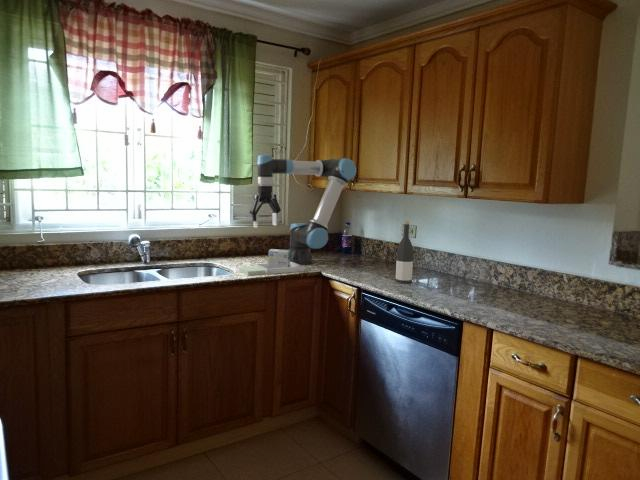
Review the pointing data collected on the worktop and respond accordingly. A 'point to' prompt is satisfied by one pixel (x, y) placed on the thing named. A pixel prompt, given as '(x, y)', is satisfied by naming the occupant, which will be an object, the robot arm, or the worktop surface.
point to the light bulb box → (279, 258)
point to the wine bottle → (404, 258)
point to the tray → (292, 268)
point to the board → (251, 270)
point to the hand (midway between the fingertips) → (265, 226)
